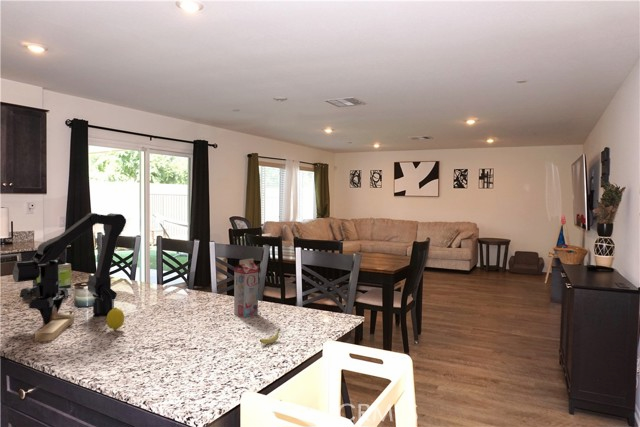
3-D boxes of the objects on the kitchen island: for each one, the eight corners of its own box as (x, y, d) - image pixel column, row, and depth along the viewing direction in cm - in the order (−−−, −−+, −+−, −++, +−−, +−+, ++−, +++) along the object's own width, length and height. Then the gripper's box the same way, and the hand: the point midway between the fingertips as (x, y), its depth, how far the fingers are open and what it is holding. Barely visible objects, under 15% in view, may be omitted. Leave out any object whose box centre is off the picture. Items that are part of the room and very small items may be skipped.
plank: (74, 321, 156) (73, 315, 156) (52, 340, 136) (52, 332, 136) (58, 322, 155) (58, 315, 154) (35, 341, 135) (34, 333, 135)
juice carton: (257, 314, 170) (258, 259, 169) (244, 317, 165) (244, 261, 164) (247, 310, 174) (248, 257, 173) (234, 314, 169) (234, 259, 168)
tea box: (72, 295, 195) (71, 263, 194) (48, 299, 186) (48, 266, 185) (55, 290, 203) (55, 260, 202) (31, 294, 194) (31, 262, 194)
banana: (278, 339, 141) (278, 327, 141) (281, 340, 140) (281, 328, 140) (258, 345, 135) (258, 333, 135) (262, 346, 134) (262, 334, 134)
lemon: (106, 334, 143) (106, 310, 143) (106, 329, 148) (106, 306, 148) (124, 331, 146) (124, 308, 145) (123, 327, 150) (123, 304, 150)
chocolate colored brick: (75, 322, 155) (75, 306, 155) (71, 326, 151) (71, 309, 151) (47, 323, 153) (47, 307, 153) (42, 327, 149) (42, 310, 149)
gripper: (35, 273, 158) (35, 315, 158) (10, 284, 140) (11, 331, 140) (68, 273, 160) (68, 314, 161) (48, 283, 142) (49, 329, 143)
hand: (49, 321), depth 151 cm, fingers open, 5 cm apart
